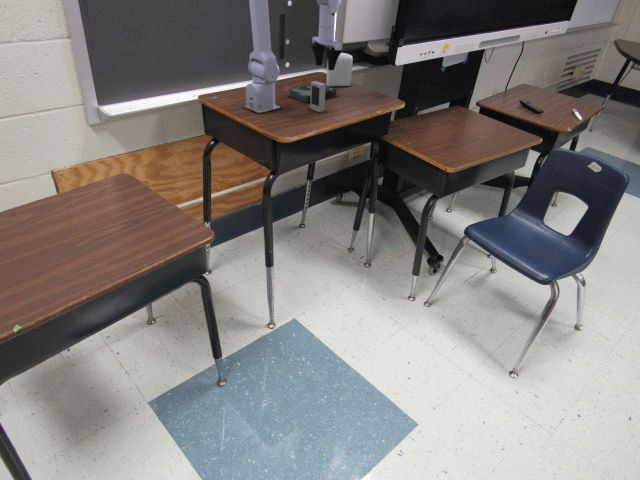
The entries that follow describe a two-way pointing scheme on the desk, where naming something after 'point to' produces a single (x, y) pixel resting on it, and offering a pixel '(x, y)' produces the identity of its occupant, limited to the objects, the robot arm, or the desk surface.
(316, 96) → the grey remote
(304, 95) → the disk drive
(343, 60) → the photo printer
